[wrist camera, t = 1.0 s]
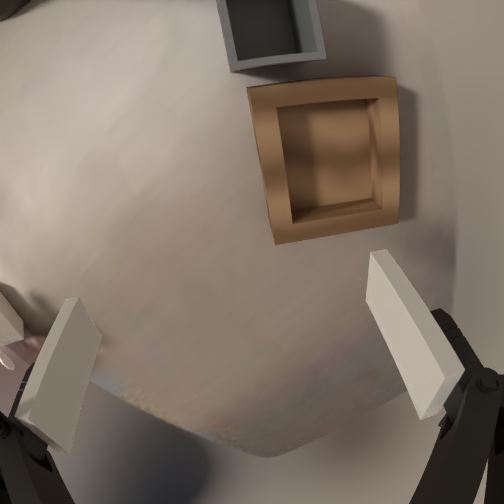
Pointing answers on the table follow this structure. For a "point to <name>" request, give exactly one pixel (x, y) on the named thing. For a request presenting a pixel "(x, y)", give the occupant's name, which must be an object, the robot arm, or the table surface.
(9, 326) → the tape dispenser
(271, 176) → the walnut crate
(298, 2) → the grey open box
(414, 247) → the table surface
